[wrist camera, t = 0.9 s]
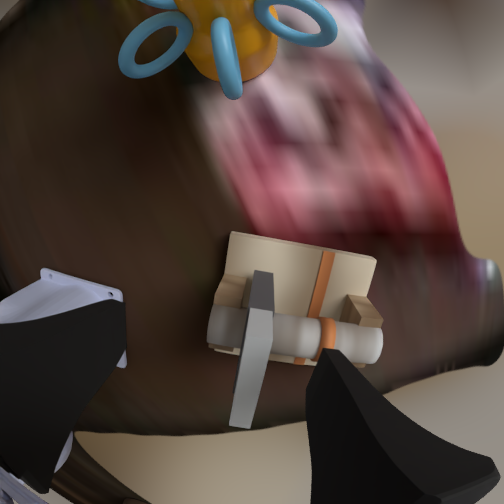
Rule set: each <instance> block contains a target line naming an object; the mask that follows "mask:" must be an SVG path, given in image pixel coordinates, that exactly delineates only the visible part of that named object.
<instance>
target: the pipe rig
mask: <svg viewBox="0 0 504 504" xmlns="http://www.w3.org/2000/svg"><path fill="white" fill-rule="evenodd" d="M376 262H377V260H376V259H374V258H373V257H371V256H366V255H361V254H356V253H350V252H345V251H340V250H335V249H329V248H324V247H318V246H313V245H307V244H302V243H296V242H291V241H285V240H280V239H274V238H268V237H263V236H257V235H251V234H245V233H239V232H234V231H232V232H231V234H230V239H229V246H228V253H227V259H226V266H225V274H224V276H223V278H222V280H221V282H220V284H219V286H218V288H217V291H216V293H215V297H214V304H213V307H212V310H211V314H210V319H209V324H208V330H207V342H208V343H209V348H214V349H215V350H214V351H219V352H224V353H230V354H235V355H239V354H240V349H241V343H242V338H243V332H244V327H245V321H246V316H247V310H248V303H249V297H250V292H251V286H252V281H253V275H254V270H259V271H265V272H271V273H273V276H274V304H275V313H274V317H273V342H272V346H271V350H270V354H269V358H268V360H272V361H280V362H287V363H294V364H297V365H313V366H316V364H317V361H318V359H319V356H320V354H321V351H322V348H330V349H337V350H340V351H341V352H342V353H343V354H344V355H345V356H346V357H347V358H348V359H349V361H350V362H351V363H352V364H353V365H354V366H355V367H364V366H365V364H366V363H370V364H372V363H375V362H376V361H377V359H378V358H379V356H380V354H381V350H382V346H383V335H382V331H381V329H380V328H381V325H382V322H383V318H382V317H381V316H380V314H379V313H378V312H377V310H376V309H375V308H374V306H373V305H372V304H371V302H370V301H369V300H368V298H367V297H366V296H367V293H368V290H369V286H370V283H371V280H372V276H373V273H374V269H375V265H376Z"/></svg>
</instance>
